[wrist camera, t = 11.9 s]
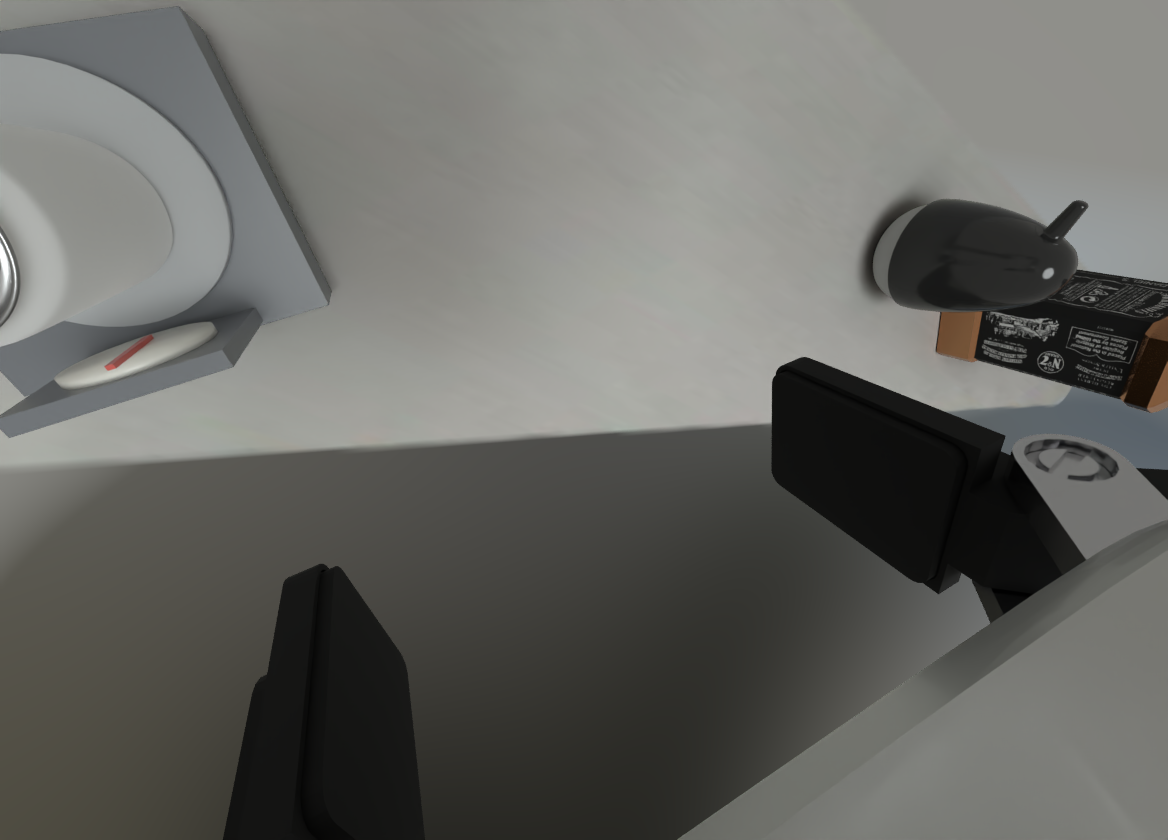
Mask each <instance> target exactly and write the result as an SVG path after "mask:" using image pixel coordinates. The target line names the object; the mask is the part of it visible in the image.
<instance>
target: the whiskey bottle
mask: <svg viewBox="0 0 1168 840" xmlns="http://www.w3.org/2000/svg"><path fill="white" fill-rule="evenodd" d="M937 352H938V353H939V354H941V355H944V356H948V357H952V358H956V359H960V360H964V361H968V362H974V361H977V360H979V361H982V362H986V363H990V364H993V365H997V366H1001V367H1004V368H1008V369H1011V370H1015V371H1019V372H1022V373H1026V374H1030V375H1033V376H1037V377H1041V378H1044V379H1048V380H1052V381H1055V382H1059V383H1062V384H1066V385H1070V386H1073V387H1077V388H1081V389H1084V390H1088V391H1092V392H1095V393H1099V394H1103V395H1106V396H1110V397H1114V398H1117V399H1121V400H1122V401H1123V402H1124V403H1125V404H1126V405H1127V406H1129V407H1132V408H1136V409H1139V410H1143V411H1146V412H1149V413H1152V412H1157V411H1160V410H1162V409H1165V408H1167V407H1168V283H1162V282H1156V281H1149V280H1143V279H1136V278H1129V277H1122V276H1116V275H1109V274H1103V273H1096V272H1090V271H1083V270H1076V273H1075V275H1074V277H1073V279H1072V280H1071V281H1070V283H1069V284H1068V285H1067V286H1066V287H1065V288H1064V289H1063V290H1062V291H1060V292H1059V293H1058V294H1056V295H1054V296H1053V297H1051V298H1049V299H1046V300H1044V301H1041V302H1038V303H1034V304H1030V305H1026V306H1021V307H1016V308H1010V309H1003V310H995V311H985V312H967V313H951V312H942V313H941V321H940V329H939V336H938V344H937Z"/></svg>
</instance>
